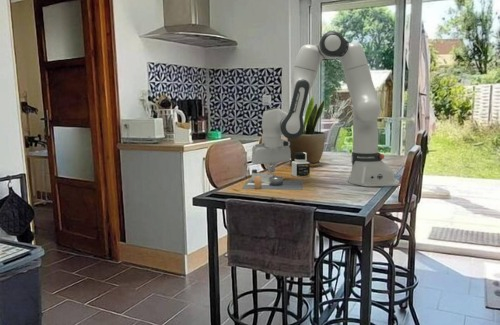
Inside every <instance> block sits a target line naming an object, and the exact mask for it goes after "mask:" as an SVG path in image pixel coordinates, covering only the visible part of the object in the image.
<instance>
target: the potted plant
mask: <svg viewBox="0 0 500 325" xmlns="http://www.w3.org/2000/svg"><path fill="white" fill-rule="evenodd" d="M314 96H315V95H312V96H311V98H310V100H309V102H308V104H307V106H306V110H305V114H304V119H303V124H304V130H303V133H302V134H301V136H299V137H298V138H296V139H288V138H287V141H289V142H290V146H289V147H290V151H291V159H290V160H289V163H290V165H291V166H292V161H295V153H297V152H305V153H306V154H307V160H306V162H309V163H310V168H315V167H319V166H320V164H321V158H322V156H323V154H324V150H325V142H326V132H324V131H318V130H317V131H316V127H317V124H318V121H319V119H320V118H321V116H322V114H323V111H324V108H325V107H324V106H325V100H323V101H322V102H320V105H319V106H318V104H317V103H315V97H314ZM314 103H315V104H314Z"/></svg>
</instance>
